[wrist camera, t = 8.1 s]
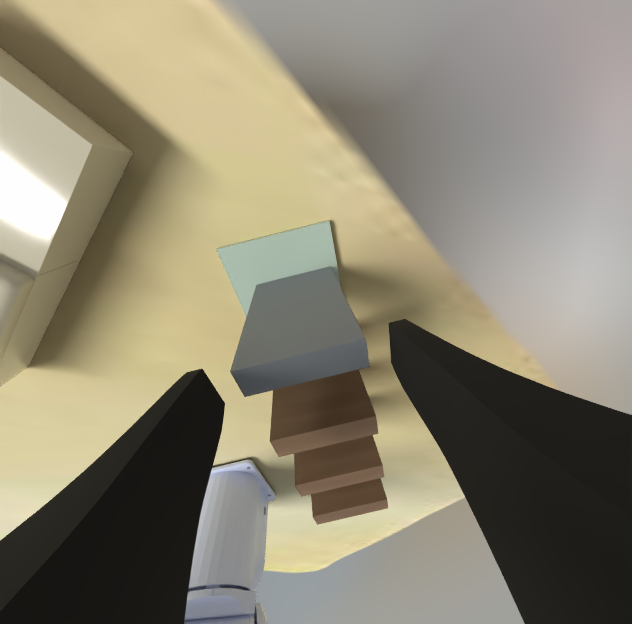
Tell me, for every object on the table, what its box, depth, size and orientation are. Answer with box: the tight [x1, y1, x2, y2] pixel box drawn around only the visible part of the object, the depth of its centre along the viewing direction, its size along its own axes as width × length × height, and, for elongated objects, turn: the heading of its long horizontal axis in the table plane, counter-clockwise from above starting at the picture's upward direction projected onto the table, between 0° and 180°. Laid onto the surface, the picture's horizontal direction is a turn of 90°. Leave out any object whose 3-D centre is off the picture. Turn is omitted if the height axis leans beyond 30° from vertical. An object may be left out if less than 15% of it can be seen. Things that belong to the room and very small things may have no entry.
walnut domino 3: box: [311, 478, 388, 524], centre depth 19 cm, size 1×5×8 cm, turn 103°
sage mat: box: [216, 220, 342, 317], centre depth 19 cm, size 20×7×1 cm, turn 12°
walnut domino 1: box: [270, 370, 378, 457], centre depth 14 cm, size 1×5×8 cm, turn 103°
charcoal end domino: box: [230, 266, 370, 397], centre depth 12 cm, size 1×5×8 cm, turn 102°
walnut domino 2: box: [294, 435, 384, 496], centre depth 17 cm, size 1×5×8 cm, turn 103°
